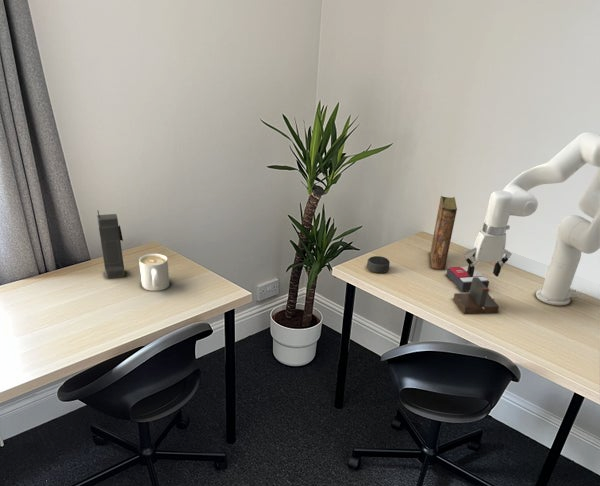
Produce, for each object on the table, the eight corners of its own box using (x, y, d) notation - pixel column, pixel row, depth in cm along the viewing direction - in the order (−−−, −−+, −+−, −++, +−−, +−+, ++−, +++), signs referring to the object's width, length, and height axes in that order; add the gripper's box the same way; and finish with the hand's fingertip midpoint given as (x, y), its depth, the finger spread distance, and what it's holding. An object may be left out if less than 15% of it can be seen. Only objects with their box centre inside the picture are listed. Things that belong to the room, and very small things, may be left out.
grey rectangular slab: (469, 293, 226) (473, 276, 222) (474, 293, 227) (478, 276, 223) (479, 306, 218) (483, 289, 214) (484, 306, 219) (488, 289, 215)
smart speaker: (362, 269, 245) (363, 259, 243) (375, 262, 251) (376, 253, 248) (380, 276, 241) (381, 266, 238) (392, 269, 246) (394, 260, 244)
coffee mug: (144, 278, 229) (141, 253, 223) (171, 279, 229) (168, 254, 223) (138, 294, 218) (135, 268, 212) (166, 295, 219) (163, 269, 213)
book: (444, 270, 248) (457, 210, 233) (431, 269, 248) (442, 208, 233) (443, 254, 261) (454, 196, 246) (430, 253, 261) (441, 195, 246)
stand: (485, 296, 231) (487, 290, 229) (501, 314, 220) (502, 308, 218) (450, 297, 228) (451, 291, 227) (463, 315, 217) (465, 309, 216)
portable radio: (126, 270, 234) (118, 205, 219) (128, 276, 229) (119, 211, 214) (105, 271, 231) (95, 207, 216) (106, 278, 227) (96, 213, 212)
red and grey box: (472, 265, 244) (490, 279, 232) (470, 275, 247) (487, 290, 235) (447, 266, 242) (463, 281, 230) (445, 276, 245) (461, 291, 233)
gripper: (513, 224, 211) (501, 270, 221) (466, 225, 208) (456, 271, 218) (522, 232, 205) (509, 279, 215) (474, 233, 202) (463, 280, 212)
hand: (482, 275), depth 217 cm, fingers open, 9 cm apart
